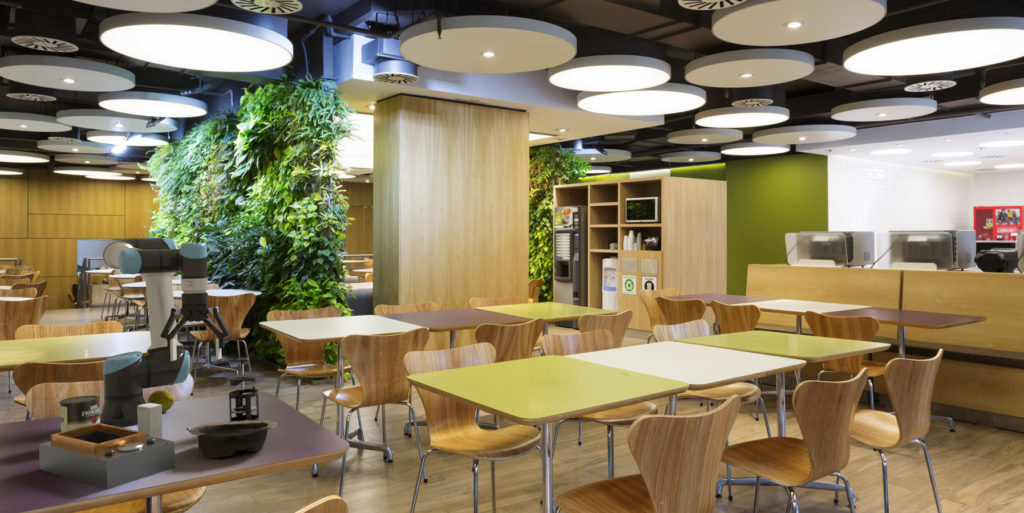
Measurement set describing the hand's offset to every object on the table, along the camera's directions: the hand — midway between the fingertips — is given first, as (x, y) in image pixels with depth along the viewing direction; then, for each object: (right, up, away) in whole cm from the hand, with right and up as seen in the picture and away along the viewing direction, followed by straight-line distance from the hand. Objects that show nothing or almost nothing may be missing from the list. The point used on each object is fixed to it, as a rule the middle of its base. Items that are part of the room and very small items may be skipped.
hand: (196, 359), depth 208 cm
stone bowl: (+17, -25, -13) cm, 33 cm away
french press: (+11, -24, +10) cm, 28 cm away
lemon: (-29, -25, +33) cm, 50 cm away
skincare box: (-11, -25, -6) cm, 28 cm away
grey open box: (-11, -25, -28) cm, 39 cm away
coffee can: (-32, -25, -6) cm, 41 cm away
